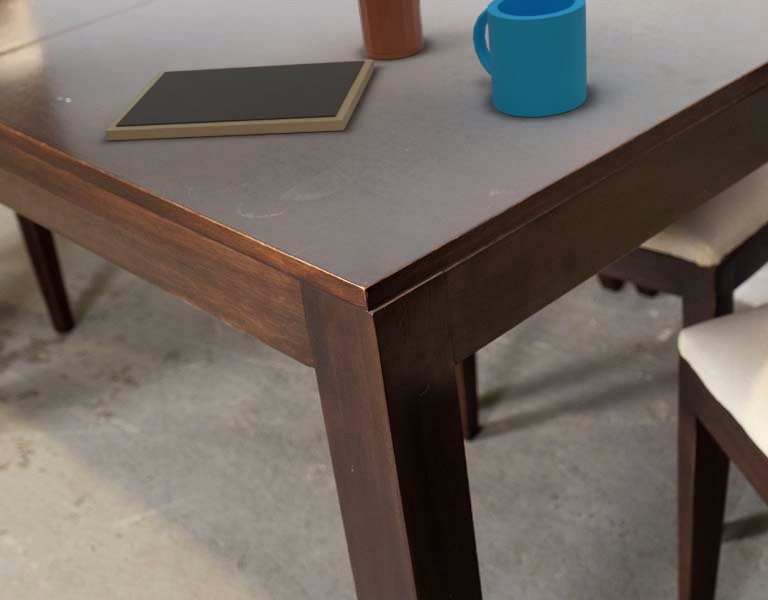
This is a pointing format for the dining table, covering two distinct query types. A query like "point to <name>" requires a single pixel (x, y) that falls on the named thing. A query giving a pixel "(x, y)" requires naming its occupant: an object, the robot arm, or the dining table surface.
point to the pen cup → (391, 28)
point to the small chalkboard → (245, 101)
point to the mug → (534, 55)
